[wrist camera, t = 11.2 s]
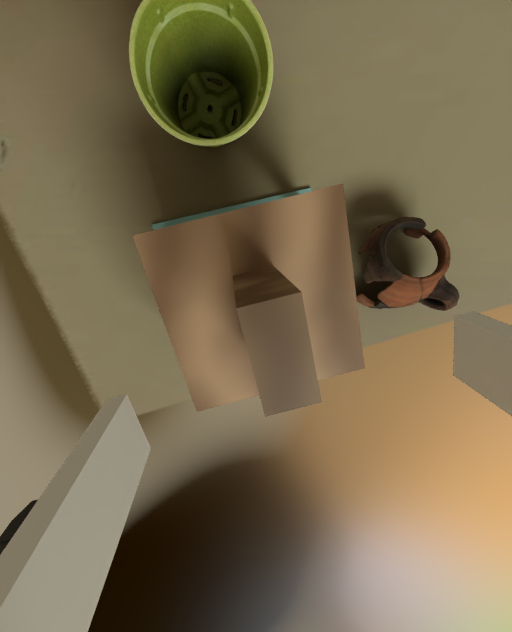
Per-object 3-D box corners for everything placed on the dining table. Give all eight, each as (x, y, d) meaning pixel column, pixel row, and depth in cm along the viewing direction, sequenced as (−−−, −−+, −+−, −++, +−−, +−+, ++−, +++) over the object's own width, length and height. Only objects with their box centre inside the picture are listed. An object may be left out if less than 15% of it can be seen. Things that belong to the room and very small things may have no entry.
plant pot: (248, 177, 29) (257, 160, 21) (153, 153, 27) (123, 125, 19) (268, 68, 26) (288, -1, 18) (164, 36, 25) (134, -56, 17)
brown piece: (300, 197, 30) (420, 158, 11) (321, 322, 34) (429, 437, 16) (166, 230, 29) (67, 244, 11) (206, 351, 34) (182, 502, 16)
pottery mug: (328, 294, 34) (357, 269, 26) (356, 232, 36) (391, 191, 28) (417, 339, 34) (474, 327, 26) (441, 274, 36) (500, 244, 28)
